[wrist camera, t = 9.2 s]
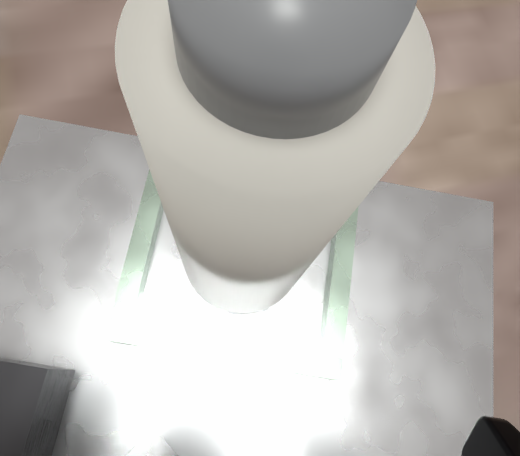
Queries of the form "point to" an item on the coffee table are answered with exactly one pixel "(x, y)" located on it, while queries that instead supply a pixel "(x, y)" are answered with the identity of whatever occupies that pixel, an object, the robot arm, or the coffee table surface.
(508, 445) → the robot arm
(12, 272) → the plate
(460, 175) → the coffee table surface
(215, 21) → the cream bottle
